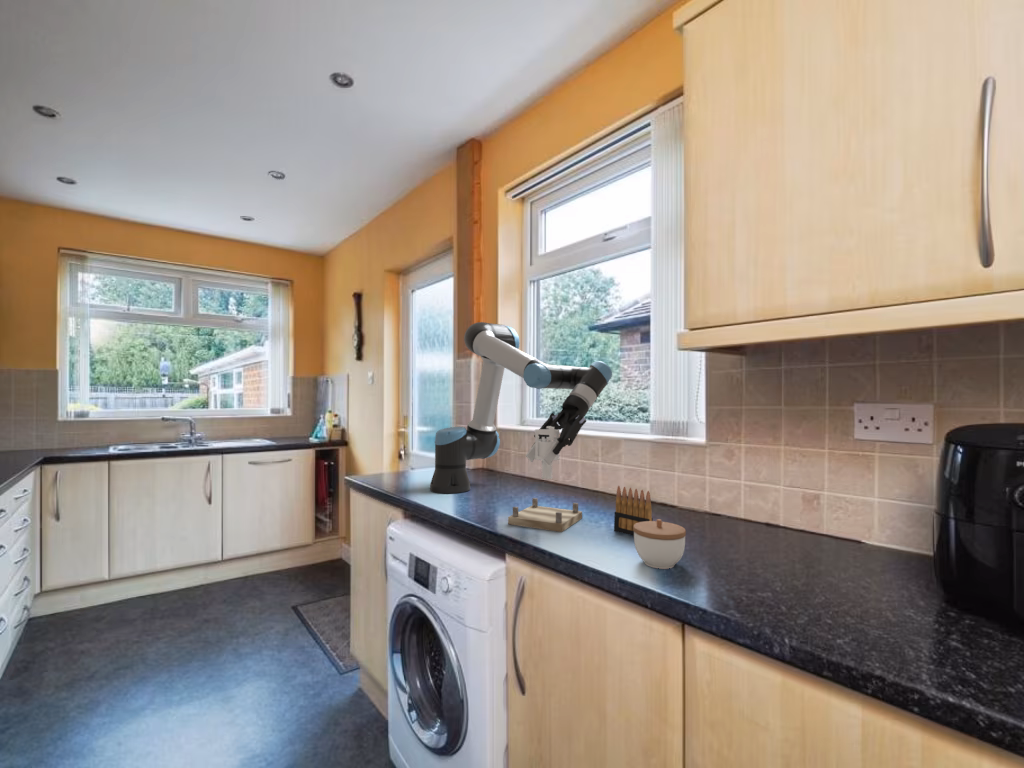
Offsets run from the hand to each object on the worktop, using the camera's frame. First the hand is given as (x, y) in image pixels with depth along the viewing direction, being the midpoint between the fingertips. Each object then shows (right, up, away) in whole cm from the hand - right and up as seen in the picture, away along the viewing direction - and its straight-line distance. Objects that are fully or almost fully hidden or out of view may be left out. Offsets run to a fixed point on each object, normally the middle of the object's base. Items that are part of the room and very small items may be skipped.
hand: (537, 460), depth 133 cm
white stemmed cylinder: (+3, -6, +2) cm, 7 cm away
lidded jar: (+24, -17, -32) cm, 44 cm away
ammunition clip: (+24, -18, -11) cm, 32 cm away
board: (+3, -18, +2) cm, 18 cm away
